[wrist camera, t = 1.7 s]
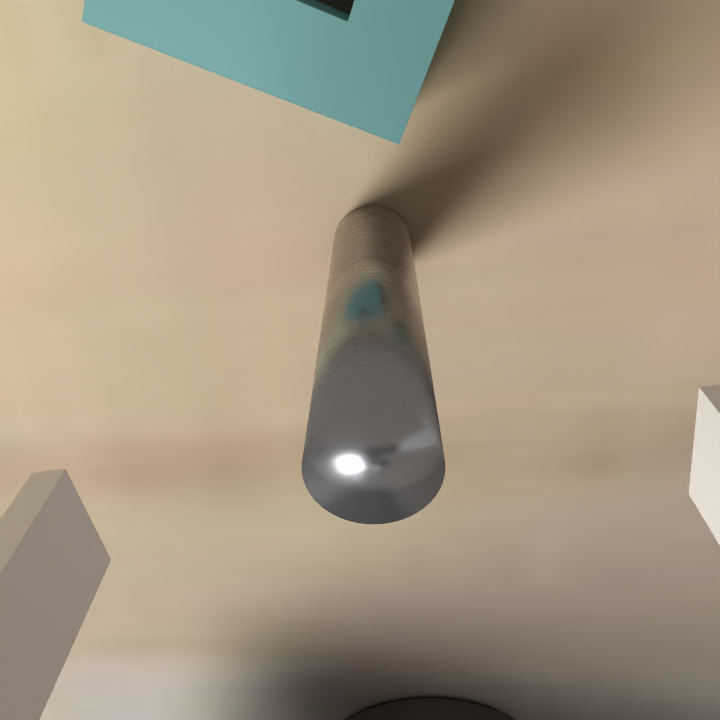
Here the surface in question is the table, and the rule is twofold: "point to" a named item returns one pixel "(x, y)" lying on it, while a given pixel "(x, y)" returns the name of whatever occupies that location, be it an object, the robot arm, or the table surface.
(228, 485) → the table surface
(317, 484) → the long pin
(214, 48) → the drilled block
